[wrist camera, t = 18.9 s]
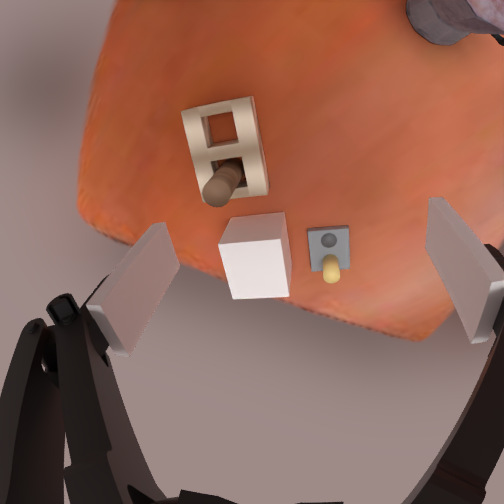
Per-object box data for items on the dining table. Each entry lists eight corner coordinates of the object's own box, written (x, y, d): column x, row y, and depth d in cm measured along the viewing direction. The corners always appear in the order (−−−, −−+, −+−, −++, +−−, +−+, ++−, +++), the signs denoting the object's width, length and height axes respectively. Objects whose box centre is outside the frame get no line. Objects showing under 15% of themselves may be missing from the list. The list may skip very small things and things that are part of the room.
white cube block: (231, 217, 48) (217, 244, 41) (284, 211, 46) (280, 238, 39) (242, 267, 52) (232, 299, 45) (292, 264, 50) (289, 296, 43)
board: (307, 228, 47) (307, 245, 42) (347, 225, 45) (351, 242, 41) (311, 267, 50) (311, 287, 46) (349, 265, 49) (352, 284, 44)
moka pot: (401, -39, 23) (461, -97, 7) (491, 29, 25) (584, 26, 8) (374, 7, 28) (428, -38, 12) (467, 75, 30) (561, 93, 13)
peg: (220, 159, 43) (198, 183, 35) (242, 155, 42) (226, 178, 34) (225, 180, 45) (206, 209, 36) (247, 176, 44) (232, 205, 35)
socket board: (188, 108, 40) (180, 111, 37) (253, 95, 38) (249, 97, 35) (209, 194, 46) (203, 202, 44) (269, 186, 44) (267, 194, 42)
